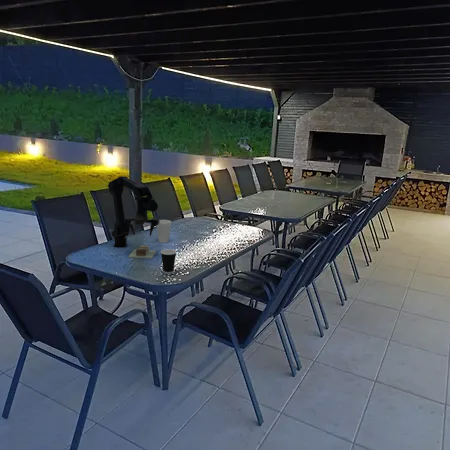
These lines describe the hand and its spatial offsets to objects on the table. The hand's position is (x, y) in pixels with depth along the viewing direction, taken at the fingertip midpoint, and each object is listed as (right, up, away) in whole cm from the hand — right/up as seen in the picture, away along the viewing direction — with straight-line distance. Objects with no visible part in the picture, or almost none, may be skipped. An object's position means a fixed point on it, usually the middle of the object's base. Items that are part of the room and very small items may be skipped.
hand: (142, 235), depth 226 cm
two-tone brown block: (0, -10, +1) cm, 10 cm away
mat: (0, -11, +1) cm, 11 cm away
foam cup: (+8, -5, +30) cm, 31 cm away
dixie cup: (+18, -18, -24) cm, 35 cm away
